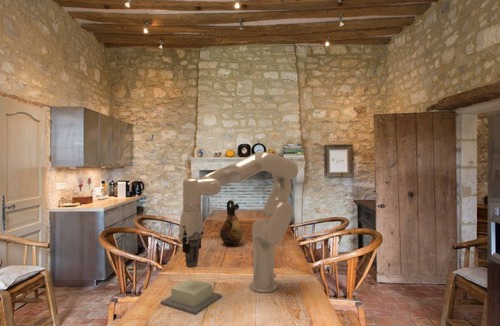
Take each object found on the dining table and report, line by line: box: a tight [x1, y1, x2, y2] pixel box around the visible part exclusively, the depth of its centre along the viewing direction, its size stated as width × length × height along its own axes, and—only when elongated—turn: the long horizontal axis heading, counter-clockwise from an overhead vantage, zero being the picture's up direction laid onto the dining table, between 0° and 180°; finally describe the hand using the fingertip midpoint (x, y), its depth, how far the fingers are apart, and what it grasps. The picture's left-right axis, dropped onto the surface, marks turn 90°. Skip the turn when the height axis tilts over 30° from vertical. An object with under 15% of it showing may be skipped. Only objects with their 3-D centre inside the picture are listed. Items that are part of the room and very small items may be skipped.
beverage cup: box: [184, 232, 202, 269], centre depth 136 cm, size 7×7×20 cm
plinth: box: [160, 278, 223, 315], centre depth 137 cm, size 18×18×6 cm
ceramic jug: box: [219, 199, 244, 248], centre depth 221 cm, size 17×15×30 cm
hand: (191, 250), depth 136 cm, fingers closed on beverage cup, 6 cm apart
